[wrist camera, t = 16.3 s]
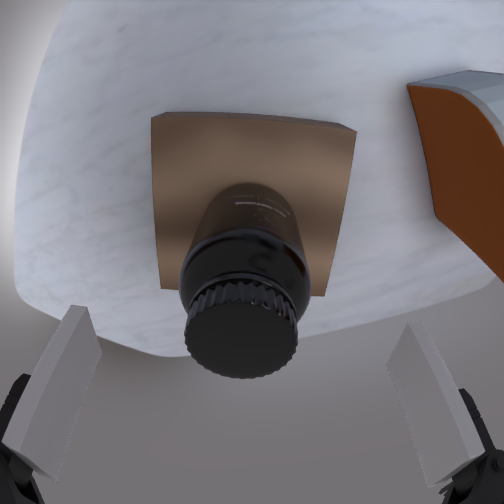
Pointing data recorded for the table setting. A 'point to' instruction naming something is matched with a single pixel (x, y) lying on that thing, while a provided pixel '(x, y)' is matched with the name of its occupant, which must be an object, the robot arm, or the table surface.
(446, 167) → the alarm clock
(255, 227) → the supplement bottle
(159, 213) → the walnut block
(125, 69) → the table surface
